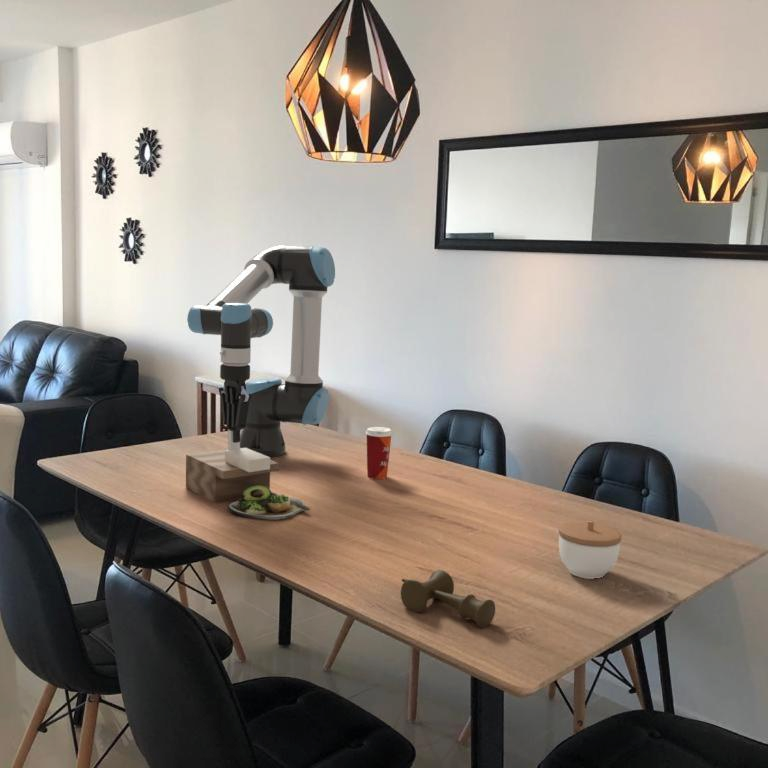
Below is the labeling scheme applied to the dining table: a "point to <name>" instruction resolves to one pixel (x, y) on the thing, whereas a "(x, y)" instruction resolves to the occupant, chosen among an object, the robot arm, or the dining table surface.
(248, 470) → the tile
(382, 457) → the paper cup
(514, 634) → the dining table surface
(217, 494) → the block
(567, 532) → the lidded bowl
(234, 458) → the tile
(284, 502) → the salad plate
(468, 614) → the kendama
